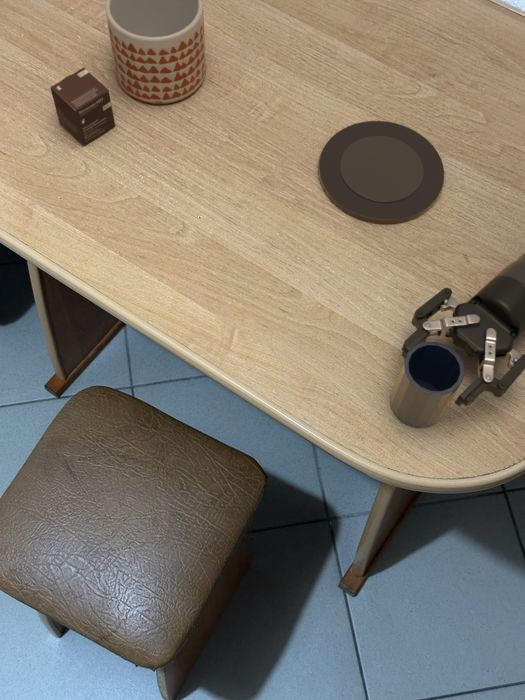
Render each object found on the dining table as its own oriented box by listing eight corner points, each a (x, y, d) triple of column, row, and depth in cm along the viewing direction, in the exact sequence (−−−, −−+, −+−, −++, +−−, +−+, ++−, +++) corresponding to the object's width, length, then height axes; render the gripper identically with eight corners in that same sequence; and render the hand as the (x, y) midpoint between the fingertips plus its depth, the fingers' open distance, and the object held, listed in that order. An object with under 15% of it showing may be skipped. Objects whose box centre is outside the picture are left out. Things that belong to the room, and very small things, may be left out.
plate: (437, 127, 125) (439, 122, 124) (447, 226, 117) (449, 221, 116) (317, 123, 125) (318, 117, 124) (319, 222, 116) (319, 217, 115)
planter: (101, 91, 126) (88, 23, 115) (138, 31, 132) (129, -40, 121) (185, 116, 125) (180, 50, 113) (218, 54, 131) (217, -15, 119)
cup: (442, 378, 106) (461, 342, 97) (446, 428, 103) (466, 395, 94) (388, 377, 106) (403, 340, 97) (391, 427, 103) (406, 393, 94)
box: (83, 147, 121) (74, 111, 115) (58, 123, 123) (48, 86, 117) (116, 126, 123) (110, 89, 117) (91, 103, 125) (83, 65, 119)
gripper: (479, 246, 104) (392, 324, 98) (572, 320, 99) (485, 406, 94) (465, 278, 110) (381, 353, 105) (551, 349, 106) (469, 431, 100)
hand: (431, 378), depth 99 cm, fingers open, 8 cm apart
